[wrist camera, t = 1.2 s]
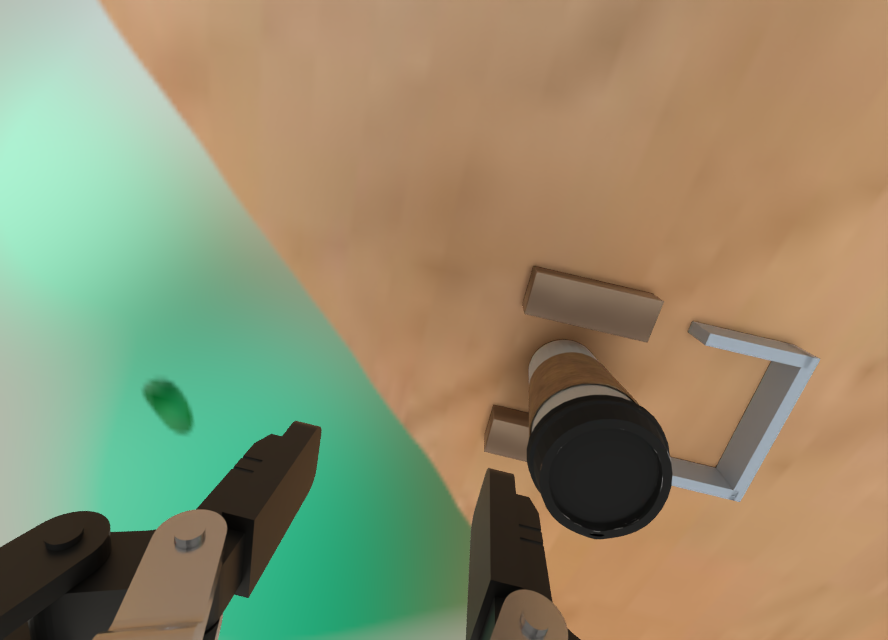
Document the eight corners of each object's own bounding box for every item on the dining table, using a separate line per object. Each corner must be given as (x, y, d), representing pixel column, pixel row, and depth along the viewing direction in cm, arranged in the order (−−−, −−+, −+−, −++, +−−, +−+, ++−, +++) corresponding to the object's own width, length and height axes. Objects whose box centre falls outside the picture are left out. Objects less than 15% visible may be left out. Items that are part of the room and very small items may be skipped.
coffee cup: (510, 407, 39) (523, 535, 25) (518, 322, 37) (538, 411, 23) (602, 415, 39) (668, 550, 25) (618, 328, 36) (702, 425, 22)
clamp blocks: (533, 265, 35) (537, 272, 33) (652, 293, 35) (664, 301, 32) (484, 435, 41) (484, 451, 38) (586, 460, 40) (592, 477, 38)
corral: (692, 321, 35) (710, 333, 32) (793, 344, 35) (820, 359, 32) (632, 457, 40) (644, 478, 37) (721, 478, 40) (740, 502, 37)
